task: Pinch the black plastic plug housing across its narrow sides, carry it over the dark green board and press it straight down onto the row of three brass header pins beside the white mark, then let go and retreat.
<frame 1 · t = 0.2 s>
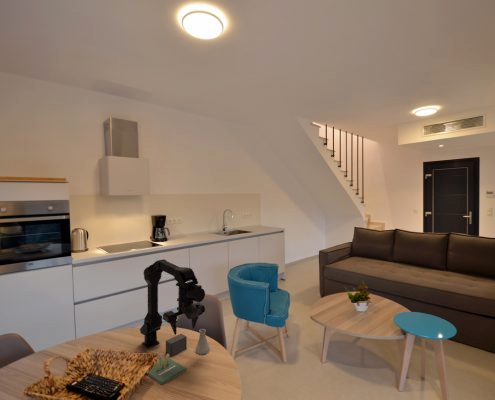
hand: (184, 331, 124), 14 cm above the table, fingers open, 9 cm apart
header board: (163, 369, 118), on the table
grey flared piece: (202, 351, 134), on the table
plug housing: (176, 350, 133), on the table
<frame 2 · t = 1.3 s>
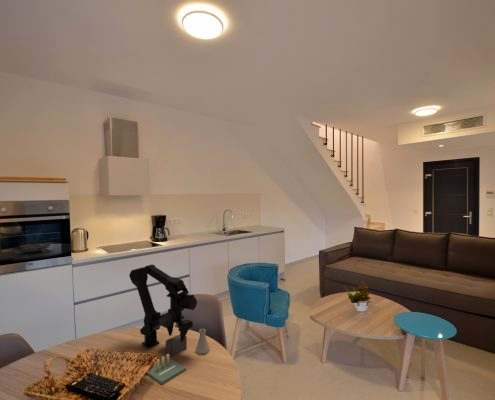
hand: (176, 338, 134), 6 cm above the table, fingers open, 9 cm apart
nothing on the table moved.
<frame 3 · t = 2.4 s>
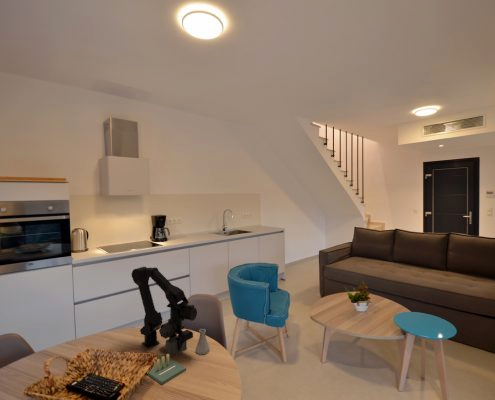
hand: (176, 348, 134), 1 cm above the table, fingers closed on plug housing, 4 cm apart
plug housing: (176, 350, 134), on the table, touching gripper
everything else where it was.
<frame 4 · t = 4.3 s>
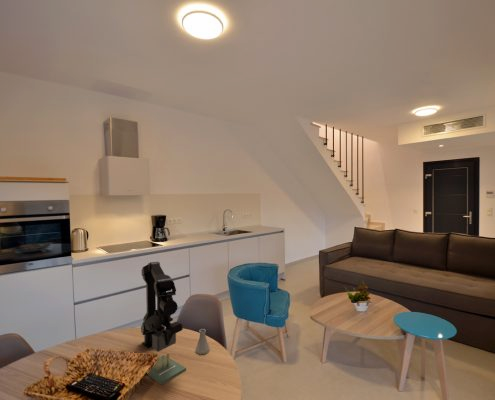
hand: (163, 343, 119), 11 cm above the table, fingers closed on plug housing, 4 cm apart
plug housing: (164, 345, 119), point 10 cm above the table, touching gripper
everything else where it was.
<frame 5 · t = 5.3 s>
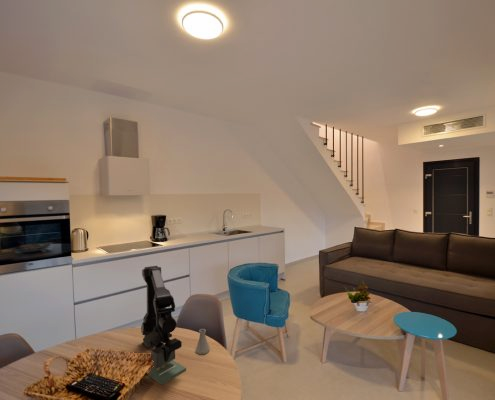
hand: (163, 359, 118), 4 cm above the table, fingers closed on plug housing, 4 cm apart
plug housing: (163, 361, 118), point 3 cm above the table, touching gripper
everything else where it was.
when the fingers open (2 cm above the table, at t = 6.0 s): plug housing stays where it is, resting on header board.
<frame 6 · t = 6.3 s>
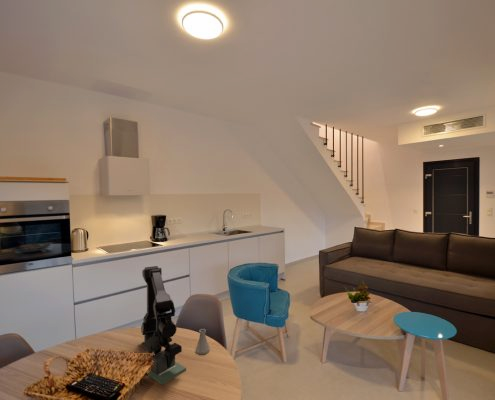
hand: (163, 364, 118), 2 cm above the table, fingers open, 8 cm apart
plug housing: (163, 367, 118), point 1 cm above the table, touching header board
everything else where it was.
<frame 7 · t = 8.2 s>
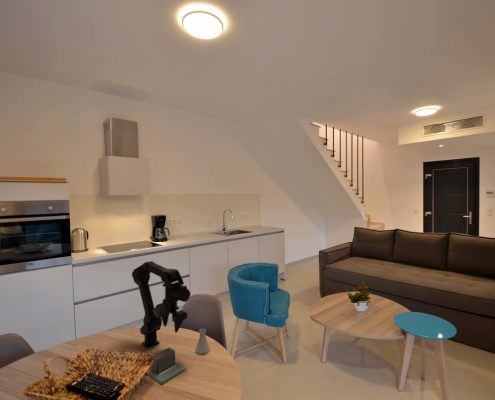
hand: (170, 329, 131), 12 cm above the table, fingers open, 9 cm apart
nothing on the table moved.
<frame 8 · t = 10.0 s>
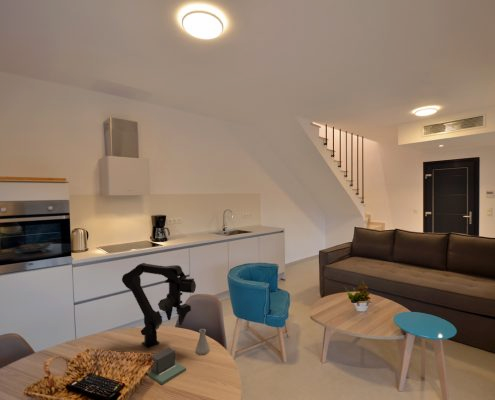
hand: (174, 322, 138), 12 cm above the table, fingers open, 9 cm apart
nothing on the table moved.
at the end: plug housing 0.1 cm off-centre on the header board, point 1.0 cm above the header board's base; plug housing tilted 0°; the gripper is holding nothing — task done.
